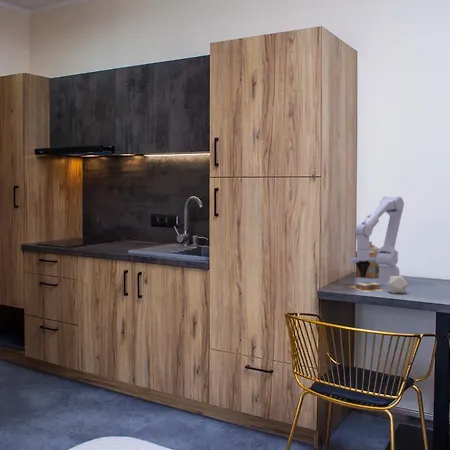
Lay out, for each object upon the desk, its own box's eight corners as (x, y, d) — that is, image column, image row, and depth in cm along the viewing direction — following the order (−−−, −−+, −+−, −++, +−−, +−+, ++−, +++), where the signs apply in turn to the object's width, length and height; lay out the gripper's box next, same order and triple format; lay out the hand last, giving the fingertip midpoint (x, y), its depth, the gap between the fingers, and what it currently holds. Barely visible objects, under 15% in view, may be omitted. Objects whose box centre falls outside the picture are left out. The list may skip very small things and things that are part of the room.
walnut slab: (371, 281, 263) (380, 284, 257) (371, 286, 263) (380, 289, 257) (355, 282, 261) (363, 285, 254) (355, 287, 261) (363, 290, 254)
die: (404, 296, 242) (413, 278, 245) (386, 287, 244) (395, 269, 246) (398, 299, 250) (407, 282, 253) (381, 290, 251) (390, 273, 254)
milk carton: (374, 278, 289) (374, 243, 288) (355, 277, 295) (355, 242, 294) (380, 276, 298) (381, 241, 297) (362, 274, 304) (362, 241, 302)
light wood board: (368, 285, 269) (368, 284, 269) (387, 290, 254) (387, 290, 254) (347, 286, 265) (347, 286, 265) (365, 292, 250) (365, 292, 250)
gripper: (371, 247, 268) (371, 274, 269) (345, 248, 263) (345, 276, 264) (379, 249, 261) (379, 276, 262) (353, 250, 257) (353, 278, 257)
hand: (363, 276), depth 263 cm, fingers closed
